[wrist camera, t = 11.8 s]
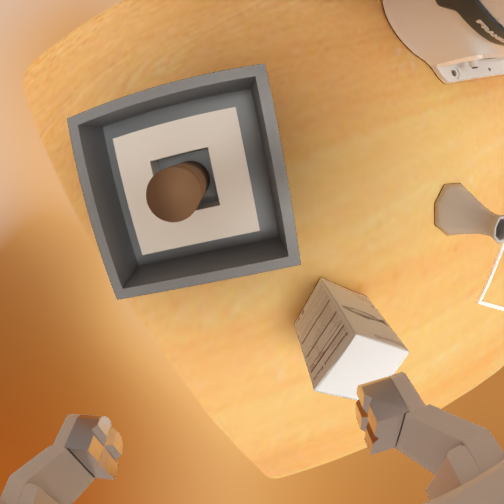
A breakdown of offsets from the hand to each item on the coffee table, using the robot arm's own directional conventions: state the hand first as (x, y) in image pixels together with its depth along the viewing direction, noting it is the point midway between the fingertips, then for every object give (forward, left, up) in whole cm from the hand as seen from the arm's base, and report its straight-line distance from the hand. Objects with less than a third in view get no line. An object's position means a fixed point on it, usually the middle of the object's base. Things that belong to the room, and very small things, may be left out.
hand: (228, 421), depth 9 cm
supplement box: (-10, +14, -27) cm, 32 cm away
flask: (-29, +4, -27) cm, 40 cm away
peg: (+3, -5, -26) cm, 26 cm away
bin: (+3, -5, -27) cm, 27 cm away
